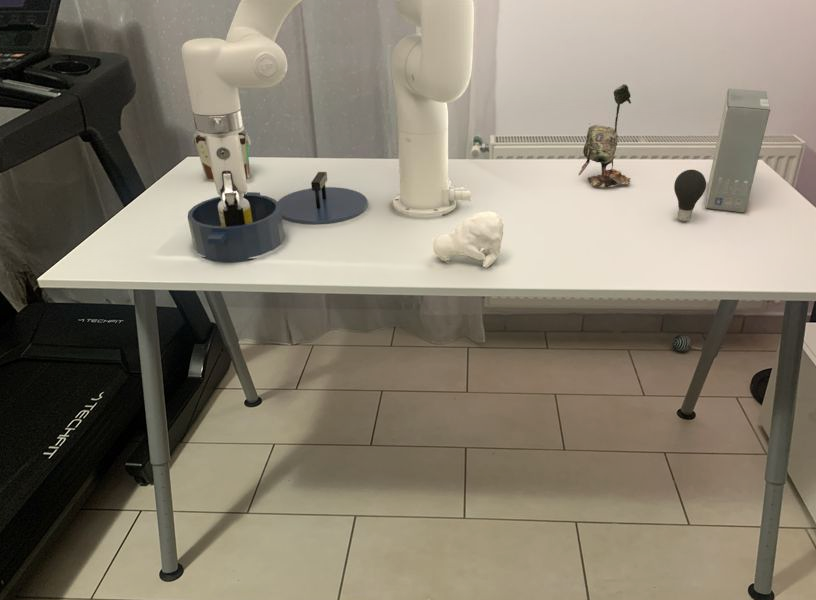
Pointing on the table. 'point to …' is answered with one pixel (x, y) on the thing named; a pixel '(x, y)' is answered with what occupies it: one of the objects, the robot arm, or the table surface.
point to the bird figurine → (605, 147)
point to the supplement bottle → (245, 206)
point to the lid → (322, 203)
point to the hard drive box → (737, 149)
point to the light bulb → (688, 192)
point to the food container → (204, 155)
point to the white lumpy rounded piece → (473, 239)
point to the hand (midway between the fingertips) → (235, 220)
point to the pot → (236, 230)
